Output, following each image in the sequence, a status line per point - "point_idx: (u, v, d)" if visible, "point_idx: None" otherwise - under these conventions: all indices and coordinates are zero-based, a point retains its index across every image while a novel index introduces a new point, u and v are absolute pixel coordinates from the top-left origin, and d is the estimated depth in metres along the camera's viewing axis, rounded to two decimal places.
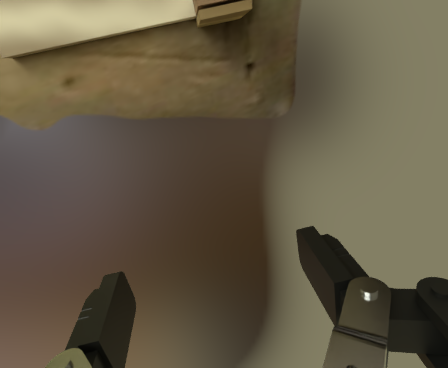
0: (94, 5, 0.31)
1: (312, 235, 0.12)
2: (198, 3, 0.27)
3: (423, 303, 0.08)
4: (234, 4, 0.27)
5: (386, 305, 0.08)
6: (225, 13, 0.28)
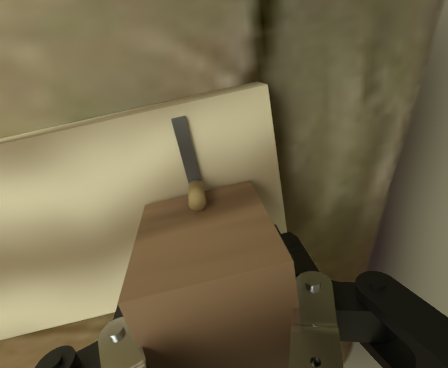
0: None
1: None
2: None
3: (364, 298, 0.09)
4: None
5: (325, 296, 0.09)
6: None
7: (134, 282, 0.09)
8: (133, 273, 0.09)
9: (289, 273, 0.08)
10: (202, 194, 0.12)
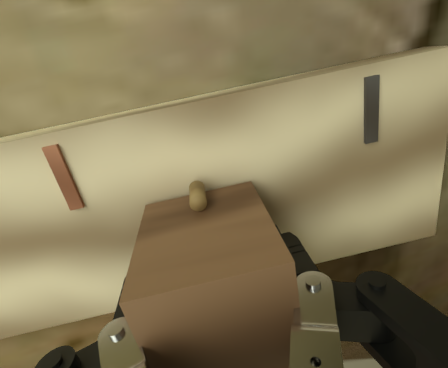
0: (129, 262, 0.15)
1: None
2: None
3: (364, 298, 0.09)
4: None
5: (325, 297, 0.09)
6: None
7: (135, 282, 0.09)
8: (134, 273, 0.09)
9: (290, 274, 0.08)
10: (203, 194, 0.12)
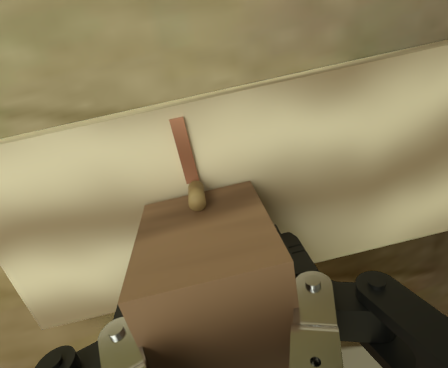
0: None
1: None
2: None
3: (364, 298, 0.09)
4: None
5: (325, 297, 0.09)
6: None
7: (134, 282, 0.09)
8: (133, 273, 0.09)
9: (289, 273, 0.08)
10: (202, 194, 0.12)
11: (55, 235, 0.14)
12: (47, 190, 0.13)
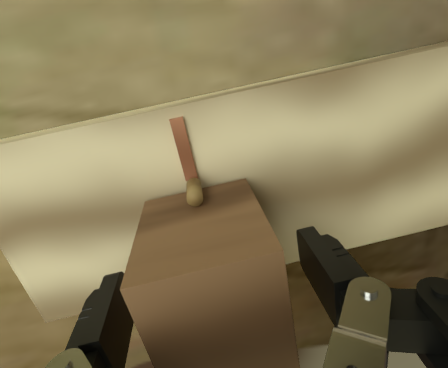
0: None
1: (312, 235, 0.12)
2: None
3: (423, 303, 0.08)
4: None
5: (386, 305, 0.08)
6: None
7: (135, 271, 0.09)
8: (134, 263, 0.10)
9: (279, 262, 0.09)
10: (199, 190, 0.13)
11: (59, 230, 0.15)
12: (52, 187, 0.14)
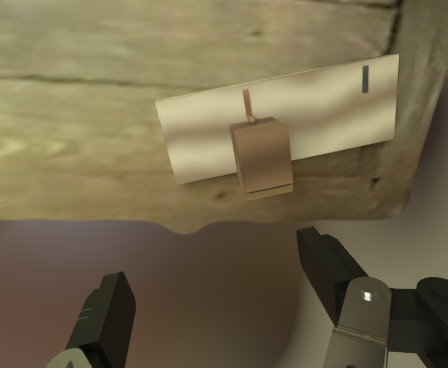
0: None
1: (312, 235, 0.12)
2: (247, 191, 0.31)
3: (423, 303, 0.08)
4: (277, 188, 0.31)
5: (386, 305, 0.08)
6: (269, 195, 0.31)
7: (240, 135, 0.29)
8: (238, 134, 0.29)
9: (287, 131, 0.29)
10: None
11: (191, 137, 0.34)
12: (192, 117, 0.33)
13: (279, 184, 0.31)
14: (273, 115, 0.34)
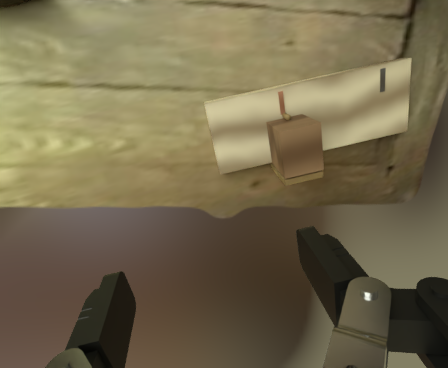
0: None
1: (312, 235, 0.12)
2: (285, 177, 0.36)
3: (423, 303, 0.08)
4: (310, 175, 0.37)
5: (386, 305, 0.08)
6: (303, 180, 0.37)
7: (280, 130, 0.35)
8: (278, 129, 0.35)
9: (319, 126, 0.34)
10: (289, 115, 0.38)
11: (234, 133, 0.40)
12: (235, 116, 0.39)
13: (312, 171, 0.36)
14: (303, 113, 0.40)
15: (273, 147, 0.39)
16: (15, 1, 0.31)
